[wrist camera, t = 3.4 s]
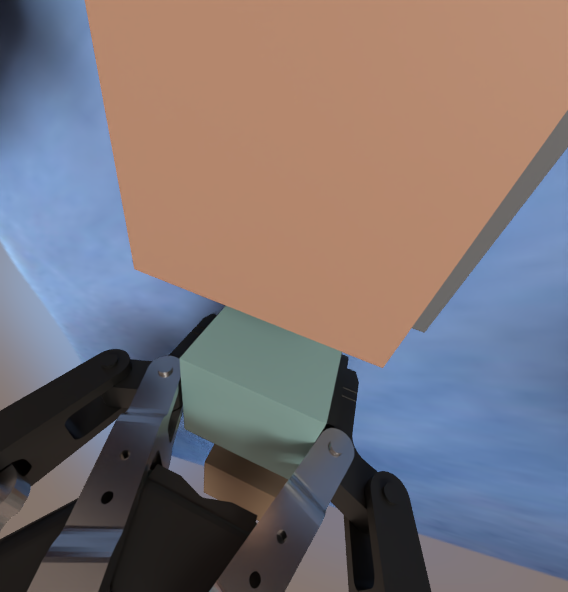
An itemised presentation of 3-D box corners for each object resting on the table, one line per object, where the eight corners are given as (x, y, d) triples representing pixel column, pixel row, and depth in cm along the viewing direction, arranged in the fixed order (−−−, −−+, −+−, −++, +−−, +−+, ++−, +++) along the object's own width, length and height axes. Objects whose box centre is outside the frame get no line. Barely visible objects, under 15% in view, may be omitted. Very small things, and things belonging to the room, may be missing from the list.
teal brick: (348, 320, 12) (326, 424, 8) (317, 383, 15) (290, 480, 11) (246, 281, 12) (179, 358, 8) (237, 349, 15) (184, 429, 11)
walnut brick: (319, 415, 16) (296, 508, 12) (300, 447, 19) (277, 530, 16) (247, 383, 17) (204, 462, 13) (240, 419, 20) (203, 492, 16)
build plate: (746, -134, 4) (828, -192, 3) (421, 316, 10) (424, 332, 10) (197, -188, 6) (166, -238, 5) (198, 235, 12) (185, 244, 11)
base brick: (495, 34, 5) (785, -197, 1) (387, 250, 8) (382, 368, 4) (268, -12, 6) (39, -248, 2) (245, 203, 9) (134, 269, 5)
